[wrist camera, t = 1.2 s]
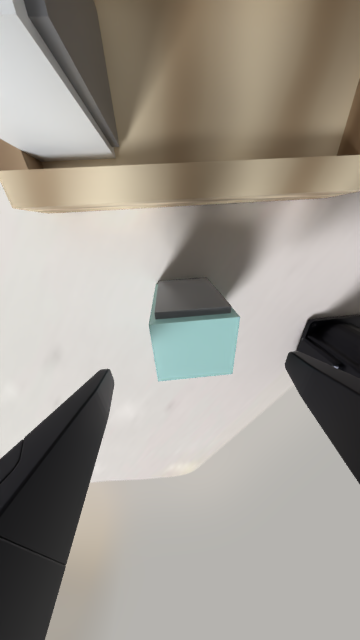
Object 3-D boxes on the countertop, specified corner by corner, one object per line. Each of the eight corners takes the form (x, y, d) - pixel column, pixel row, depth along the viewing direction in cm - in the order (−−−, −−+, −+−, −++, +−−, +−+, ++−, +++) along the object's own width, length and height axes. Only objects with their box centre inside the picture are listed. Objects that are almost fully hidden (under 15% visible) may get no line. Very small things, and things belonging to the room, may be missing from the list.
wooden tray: (397, -34, 8) (513, -167, 5) (327, 197, 12) (371, 189, 10) (-45, -38, 7) (-170, -198, 4) (48, 213, 11) (12, 208, 9)
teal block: (207, 320, 16) (232, 373, 10) (160, 324, 16) (158, 381, 10) (208, 275, 14) (241, 309, 8) (155, 279, 14) (147, 317, 8)
